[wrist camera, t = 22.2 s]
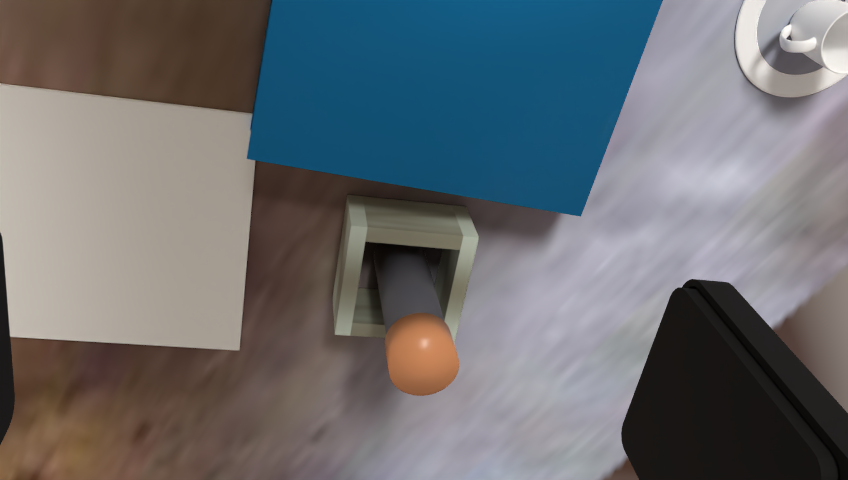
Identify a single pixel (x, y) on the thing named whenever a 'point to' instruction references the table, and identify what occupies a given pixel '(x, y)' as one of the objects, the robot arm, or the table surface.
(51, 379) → the table surface
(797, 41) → the teacup and saucer
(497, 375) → the table surface
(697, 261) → the table surface
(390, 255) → the marker
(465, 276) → the pen holder
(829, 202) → the table surface
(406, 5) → the book
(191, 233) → the paper
